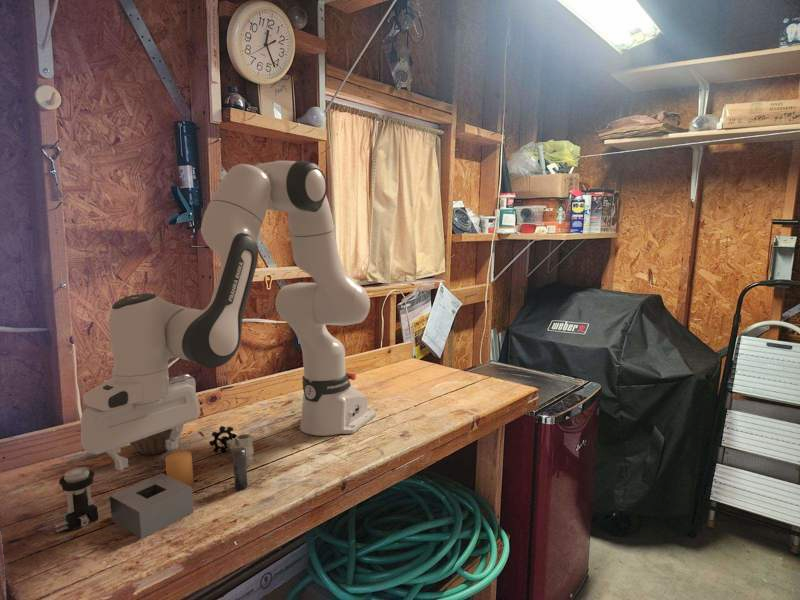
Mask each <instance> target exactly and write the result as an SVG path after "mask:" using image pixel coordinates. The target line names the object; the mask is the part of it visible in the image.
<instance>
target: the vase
mask: <svg viewBox="0 0 800 600" xmlns="http://www.w3.org/2000/svg"><path fill="white" fill-rule="evenodd" d="M171 432H172V430H171V429H168V430H166V431H163V432H160V433H157V434H154V435H151V436H149V437H146V438H143V439H140V440H137V441H134V442H132V443H129V444H128V445H130V446H131V447H132V448H134V449H135V450H136V451H138V452H140V453H142V454H144V455H156V454H161V453H164V452H167V451H168V450H167V449H166V442H165V441H166V440H168V439H169V438H170V435H171Z"/></svg>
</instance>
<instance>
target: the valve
mask: <svg viewBox="0 0 800 600" xmlns="http://www.w3.org/2000/svg"><path fill="white" fill-rule="evenodd" d="M218 429H219V431H218V432H217V431H213V432H212V433H211V436H212V437H213V440H210V441H209V443H208V444H209V446H211V447H213V449H212V452H213V453H215V454H216V453H219V450H220V452H221V453H222V454H226V453H227V452H228V448H229V450H230V452H231V453H232V451H233V450H234V449H236V448H245V449H246V463H247V468H248V467H251V466H252V465H253V464H254V463H255V461H254V452H255V447H254V445H253V441H254V440H253V436H252V434H249V433H242V434H238V435H237V434H236V433H232V432H233V431H234V427H232V426H228V427H227V429H226V427H225V426H224V425H221V426H220V427H219V428H218ZM222 434H227V435H228V436H225V435H222ZM220 436H221V437H220ZM218 441H219V443H220V444H221V445H219V444H218Z"/></svg>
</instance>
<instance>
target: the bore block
mask: <svg viewBox="0 0 800 600" xmlns="http://www.w3.org/2000/svg"><path fill="white" fill-rule="evenodd" d="M109 503H110V512H111V513H110V514H111V522H113V523H114V524H115V525H118V526H119V527H121V528H122V529H124V530H126V531H128V532H130V533H131V534H133V535H134V536H136V537H138V538H139V539H141V540H143V539H144V538H145V539H146V538H148V537H149V536H151V535H153V534H154V533H156V532H159V531H160V530H162V529H164V528H165V527H168V526H169V525H171V524H173V523H175V522H178V521H179V520H182V519H183V518H184V517H186V516H189V515H190V514H192V513H194V499H193V487H192V485H190V486H189V485H186V484H184V483H182V482H180V481H178V480H175V479H173V478H171V477H169V476H167V474H164V473H163V472H162V473H159V474H156V475H155V476H152V477H150V478H148V479H145V480H142V481H140V482H138V483H136V484H132V485H131V486H128V487H126V488H123V489H122V490H119V491H117V492H114V493H112V494H110V495H109Z"/></svg>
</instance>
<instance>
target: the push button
mask: <svg viewBox="0 0 800 600" xmlns="http://www.w3.org/2000/svg"><path fill="white" fill-rule="evenodd" d="M95 474H96V473H95V471H93V470H91V469H89V468H88V467H85V466H80V467H79V466H77V467H75V468H72V469H69V470H67V471H66V472H65V473H64V476H62V477H60V478H59V480H58V481H59V482H58V483H59V485H60V486H61V489H62V491H64V492H66V500H67V510H66V513H65V514H64V516H63V517H64V521H62V522H61V523H57V524H55V527H56V528H58V529H56V530H55V531H56V533H59V532H61V531H64V530H69V531H73V530H76V529H78V528H81V527H85V526H87V525H88V524H89V523H92V522H97V521H99V509H98V506H96V505H95V504H94V501H93V500H92V494H91V493H92V492H91V485H92V484H93V483H94V477H95V476H96V475H95ZM59 527H60V528H59Z"/></svg>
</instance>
